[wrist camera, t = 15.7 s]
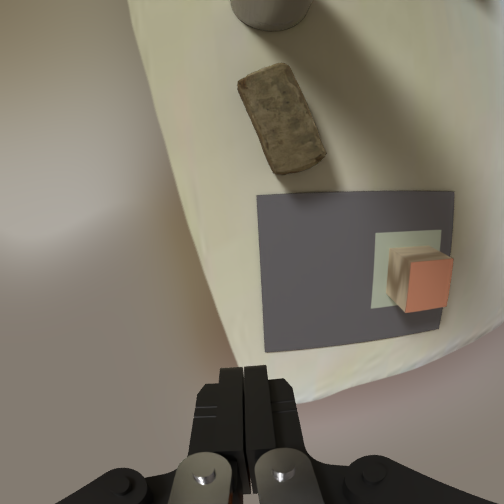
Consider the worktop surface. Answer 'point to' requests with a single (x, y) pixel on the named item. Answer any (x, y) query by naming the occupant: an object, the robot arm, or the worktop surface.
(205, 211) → the worktop surface
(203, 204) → the worktop surface
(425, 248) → the maple cube
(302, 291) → the rubber mat
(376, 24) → the worktop surface
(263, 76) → the stone block
